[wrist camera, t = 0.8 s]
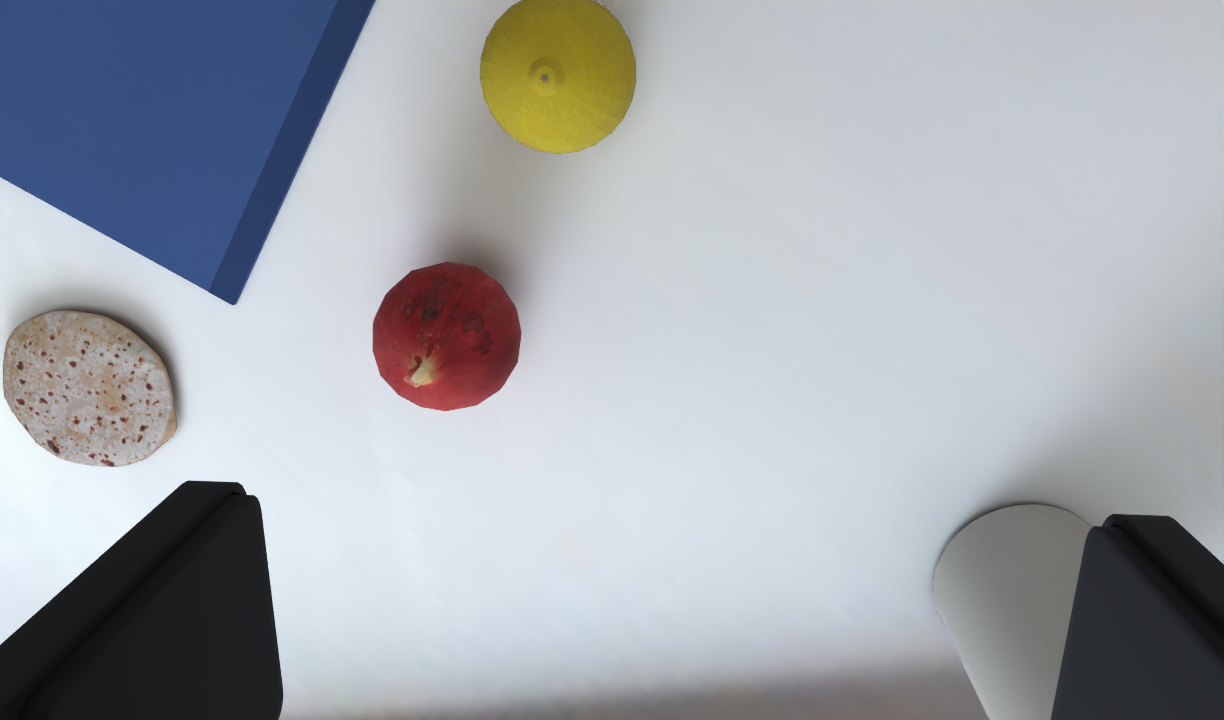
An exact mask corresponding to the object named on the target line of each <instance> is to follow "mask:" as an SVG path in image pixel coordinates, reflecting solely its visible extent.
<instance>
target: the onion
mask: <svg viewBox="0 0 1224 720" xmlns="http://www.w3.org/2000/svg"><path fill="white" fill-rule="evenodd" d="M520 340H521V329H520V324H519V319H518V314H517V309H516V307H515V305H514V304H513V302H512V301H511V299H510V298H509V296H508V295H507V293H506V292H505V290H504V289H503V287H502V285H501V284H499V283H498V282H497V281H495V280H494V279H492V278H491V277H490V276H488V275H487V274H485V273H484V272H483V271H481V270H480V269H478V268H477V267H473V266H468V265H462V264H457V263H452V262H444V263H440V264H436V265H432V266H428V267H424V268H420V269H416V270H412V271H411V272H410V273H408V274H407V275H406V276H405V277H404V278H403V279H402V280H401V281H399V282H398V283H397V284H396V285H395V286H394V287H393V288H392V289H391V290H390V291H389V292H388V293H387V294H386V295H385V297H384V299H383V301H382V303H381V305H380V308H379V310H378V312H377V314H376V316H375V318H374V322H373V353H374V356H375V359H376V362H377V366H378V369H379V372H380V375H381V377H382V378H383V379H384V380H385V381H386V382H387V383H388V384H389V385H390V386H391V387H392V388H393V390H394V391H395V392H396V393H397V394H398V395H400V396H401V397H403V398H405V399H407V400H409V401H411V402H413V403H414V404H416V405H418V406H420V407H424V408H430V409H436V410H442V411H449V410H454V409H459V408H465V407H470V406H475V405H478V404H479V403H481V402H482V401H484V400H485V399H487V398H488V397H490V396H491V395H493V394H494V393H496V392H497V391H499V390H500V389H501V388H502V387H503V385H504V384H505V382H506V381H507V379H508V377H509V376H510V374H511V372H512V371H513V369H514V367H515V366H516V364H517V363H518V356H519V348H520Z"/></svg>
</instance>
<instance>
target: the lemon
mask: <svg viewBox="0 0 1224 720" xmlns="http://www.w3.org/2000/svg"><path fill="white" fill-rule="evenodd" d="M480 81H481V86H482V90H483V95H484V99H485V101H486V103H487V105H488V107H489V110H490V112H491V114H492V116H493V117H494V118H495V120H496V121H497V122H498V123H499V125H500V126H501V127H502V128H503V130H504V131H505V132H506V133H508V134H509V135H510V136H512V137H513V138H514V139H516V140H517V141H518V142H520V143H521V144H524V145H526V146H528V147H531V148H533V149H535V150H538V151H543V152H550V153H556V154H560V153H569V152H577V151H580V150H582V149H585V148H588V147H590V146H593V145H595V144H597V143H598V142H599V141H601V140H602V139H604V138H605V137H607V136H608V135H609V134H611V133H612V131H613V130H614V129H615V128H616V127H617V125H618V124H619V123H620V122H621V121H622V119H623V118H624V116H625V114H626V112H627V110H628V108H629V106H630V104H631V101H632V98H633V93H634V88H635V84H636V62H635V57H634V54H633V50H632V46H631V43H630V40H629V38H628V37H627V35H626V33H625V31H624V29H623V28H622V26H621V24H620V23H619V22H618V20H617V19H616V18H615V17H614V16H613V15H612V14H611V13H610V12H609V11H608V10H607V9H606V8H605V7H603V6H601V5H600V4H598V3H596V2H595V1H593V0H521V1H520V2H518V3H516V4H514V5H513V6H511V7H510V8H509V9H508V10H507V11H506V12H505V13H504V14H503V15H502V16H501V17H500V18H499V19H498V20H497V21H496V22H495V24H494V26H493V28H492V29H491V31H490V33H489V35H488V36H487V38H486V41H485V45H484V48H483V52H482V55H481V63H480Z"/></svg>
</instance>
